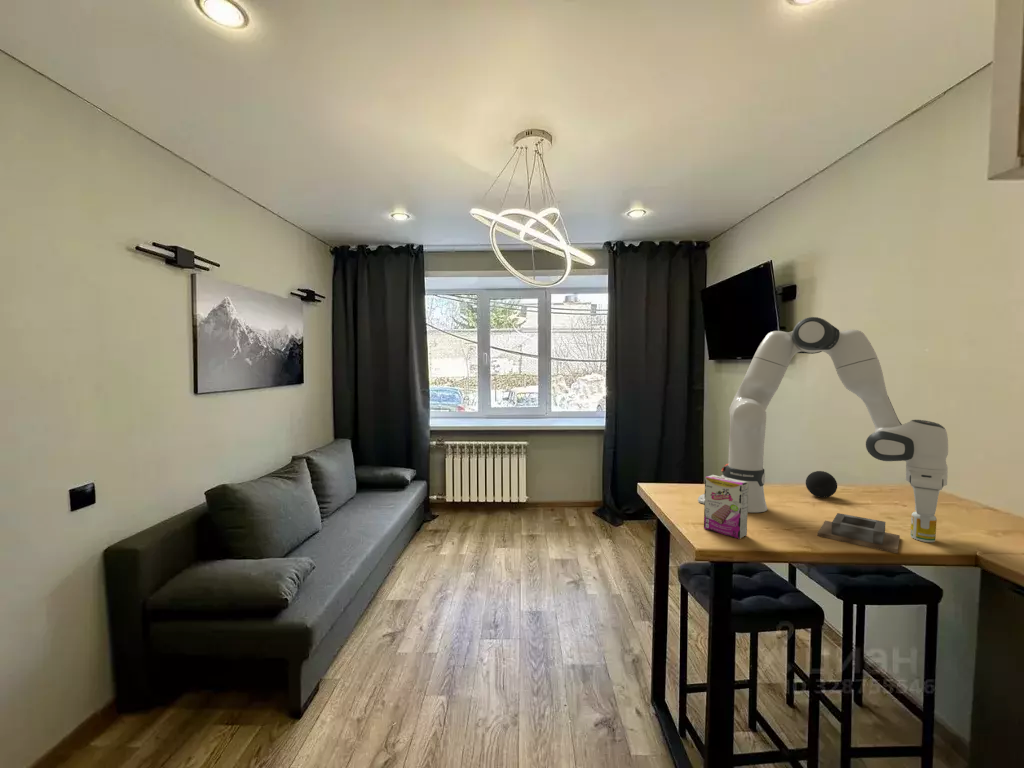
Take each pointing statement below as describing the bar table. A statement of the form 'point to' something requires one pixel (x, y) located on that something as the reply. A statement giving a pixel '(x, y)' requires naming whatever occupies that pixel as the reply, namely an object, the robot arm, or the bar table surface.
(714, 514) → the candy bar box
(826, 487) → the speaker
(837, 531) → the holder stand
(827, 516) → the bar table surface
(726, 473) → the robot arm
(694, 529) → the bar table surface
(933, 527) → the supplement bottle
